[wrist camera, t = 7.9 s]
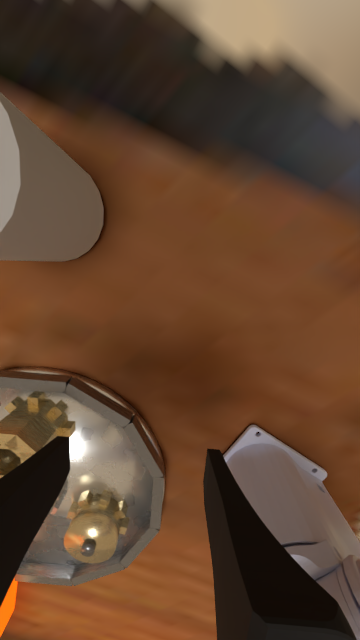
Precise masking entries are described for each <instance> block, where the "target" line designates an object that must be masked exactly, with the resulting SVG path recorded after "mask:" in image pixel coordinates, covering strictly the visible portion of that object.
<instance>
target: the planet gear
mask: <svg viewBox="0 0 360 640" xmlns="http://www.w3.org/2000/svg"><path fill="white" fill-rule="evenodd" d="M67 407H68V406H67V405H66V404H65V403H64V402H63V401H62V400H60V401H59V402H58V403H57V404H55V403H54V402H53V401H52V400H50V399H45V393H44V392H38V391H34V392H33V393H32V394H31V395H29V396H28V397H27V399H26V400H25V401H23V400H22V399H21V398H20V397H19V396H18V397H16V398H15V399H14V400H13V401H11V402H10V403H9V404H8V405H7V406H6V407H4V408H5V409H6V410H7V411H8V412H9V413H10V414H9V415H7V416H5V417H4V418H3V419H2V420H1V421H0V478H2V477H3V476H5V475H6V474H7V473H9V472H10V471H12V470H13V469H15V468H16V467H17V466H19V465H20V464H21V463H23V462H24V461H25V460H27V459H28V458H29V457H31V456H32V455H33V454H35V453H36V452H37V451H39V450H40V449H41V448H43V447H44V446H45V445H46V444H48V443H49V442H50V441H52V440H53V439H54V438H56V437H57V436H65V437H71V436H72V434H73V433H74V431H75V421H68V415H67V414H66V413H65V412H64V411H65V410H66V409H67ZM13 452H14V453H15V454H16V455H17V456H16V455H15V454H14V453H13Z"/></svg>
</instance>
